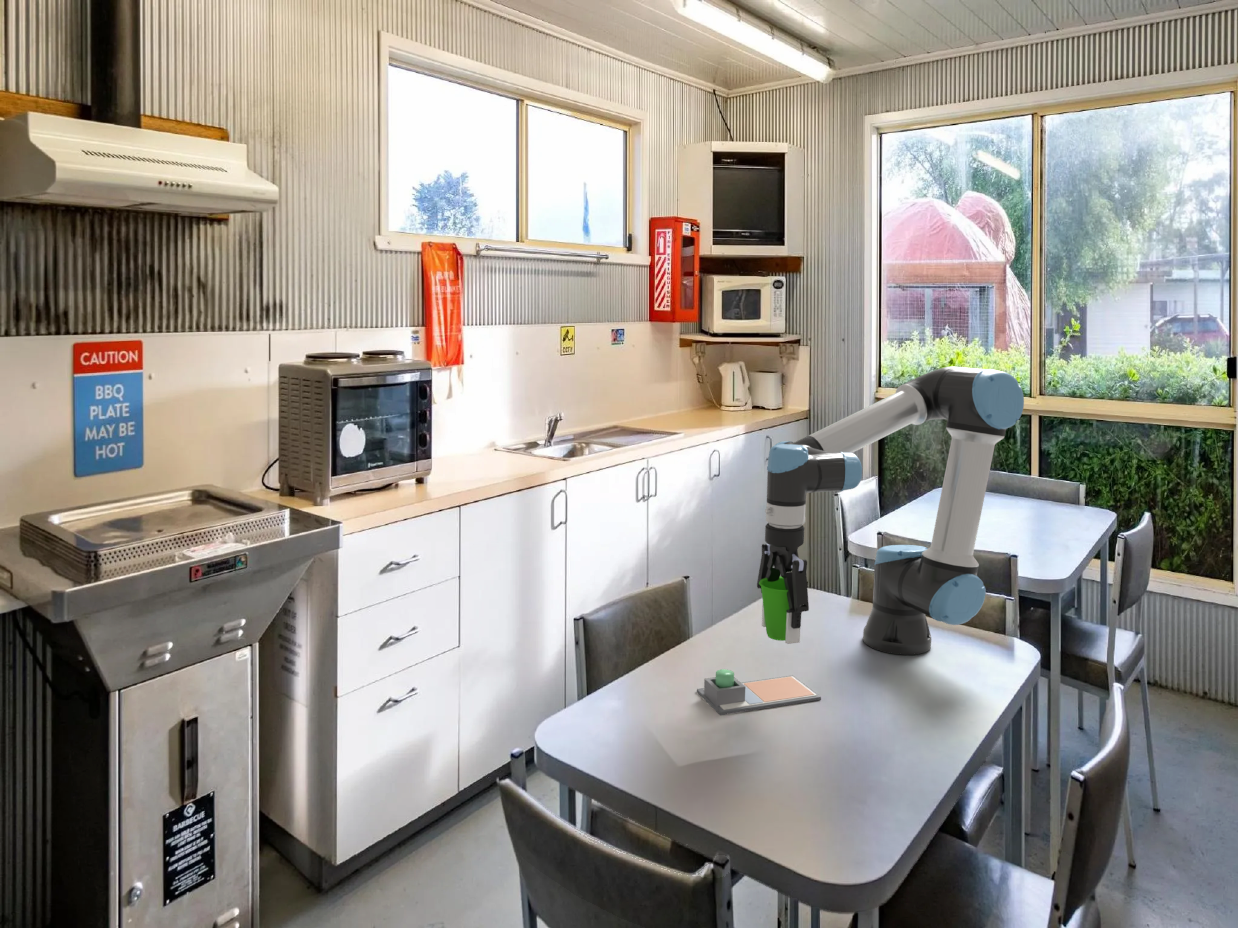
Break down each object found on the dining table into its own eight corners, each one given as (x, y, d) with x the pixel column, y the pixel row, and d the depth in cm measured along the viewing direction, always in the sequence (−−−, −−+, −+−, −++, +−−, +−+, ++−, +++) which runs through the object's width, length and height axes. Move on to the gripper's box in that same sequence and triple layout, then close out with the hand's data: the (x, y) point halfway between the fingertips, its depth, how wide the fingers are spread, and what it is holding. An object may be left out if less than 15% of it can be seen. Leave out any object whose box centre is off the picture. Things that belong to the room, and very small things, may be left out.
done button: (728, 682, 177) (729, 668, 177) (736, 689, 174) (737, 675, 173) (712, 684, 176) (712, 670, 176) (720, 692, 173) (720, 677, 172)
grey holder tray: (792, 677, 186) (793, 660, 186) (820, 699, 176) (821, 681, 176) (696, 691, 179) (697, 673, 179) (720, 715, 169) (720, 696, 169)
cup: (803, 646, 172) (805, 591, 170) (755, 642, 174) (757, 588, 172) (803, 630, 181) (805, 578, 179) (758, 626, 182) (760, 574, 180)
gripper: (742, 513, 182) (738, 617, 186) (796, 539, 162) (791, 656, 166) (774, 510, 184) (770, 614, 188) (832, 536, 164) (826, 651, 168)
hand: (780, 633), depth 177 cm, fingers closed on cup, 9 cm apart
